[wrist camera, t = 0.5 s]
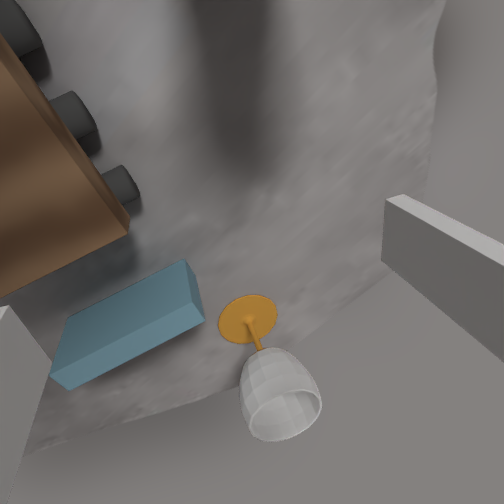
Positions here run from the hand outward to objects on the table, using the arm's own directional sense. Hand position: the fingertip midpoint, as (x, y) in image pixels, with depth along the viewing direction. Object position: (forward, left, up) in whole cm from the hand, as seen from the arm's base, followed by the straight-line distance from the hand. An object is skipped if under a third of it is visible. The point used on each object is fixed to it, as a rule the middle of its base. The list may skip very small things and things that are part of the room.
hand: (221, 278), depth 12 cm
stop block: (+14, -14, -26) cm, 33 cm away
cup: (+27, -3, -26) cm, 37 cm away
